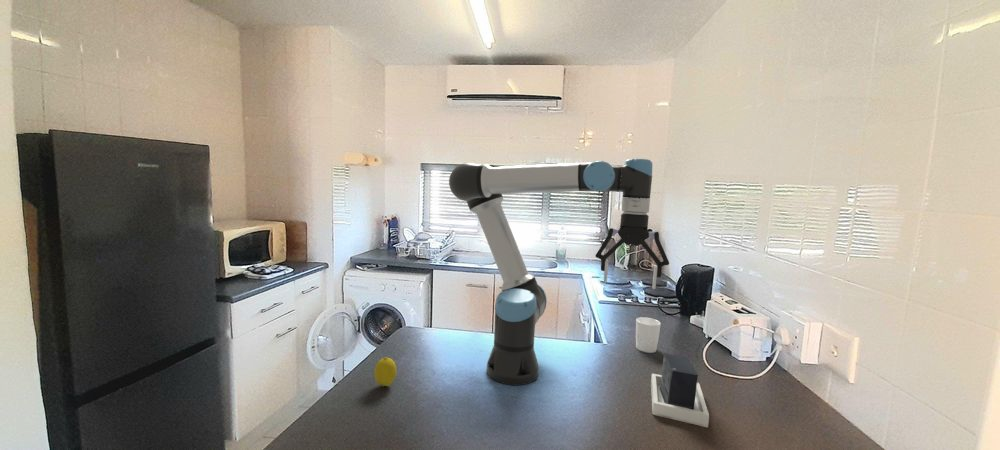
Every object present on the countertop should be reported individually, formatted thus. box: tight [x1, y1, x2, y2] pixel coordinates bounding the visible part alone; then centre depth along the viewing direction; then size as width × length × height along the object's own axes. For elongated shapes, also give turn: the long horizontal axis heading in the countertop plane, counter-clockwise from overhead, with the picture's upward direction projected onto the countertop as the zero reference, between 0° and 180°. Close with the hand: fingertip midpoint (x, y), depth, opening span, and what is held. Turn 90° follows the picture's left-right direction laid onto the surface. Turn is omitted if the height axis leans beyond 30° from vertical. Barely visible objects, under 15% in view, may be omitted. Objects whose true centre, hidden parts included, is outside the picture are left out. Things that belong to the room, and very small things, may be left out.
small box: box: [660, 352, 699, 410], centre depth 95 cm, size 11×6×10 cm, turn 166°
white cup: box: [635, 316, 661, 354], centre depth 129 cm, size 8×8×10 cm
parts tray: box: [650, 373, 710, 428], centre depth 96 cm, size 12×16×3 cm
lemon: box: [374, 356, 397, 387], centre depth 97 cm, size 6×6×8 cm
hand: (629, 284), depth 109 cm, fingers open, 13 cm apart
